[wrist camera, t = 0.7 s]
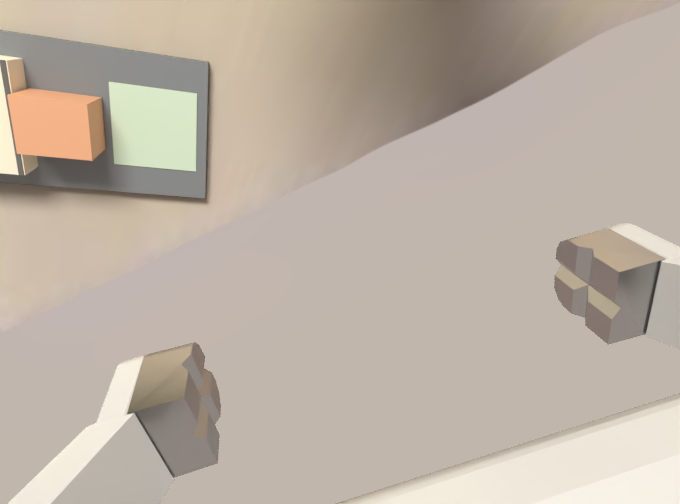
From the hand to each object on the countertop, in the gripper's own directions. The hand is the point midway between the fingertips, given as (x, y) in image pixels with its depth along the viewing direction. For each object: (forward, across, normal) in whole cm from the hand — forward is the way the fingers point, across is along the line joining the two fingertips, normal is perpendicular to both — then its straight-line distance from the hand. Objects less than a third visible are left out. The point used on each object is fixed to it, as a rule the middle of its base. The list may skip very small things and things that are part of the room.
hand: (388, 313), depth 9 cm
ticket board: (+41, +23, -3) cm, 47 cm away
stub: (+40, +20, -2) cm, 45 cm away
